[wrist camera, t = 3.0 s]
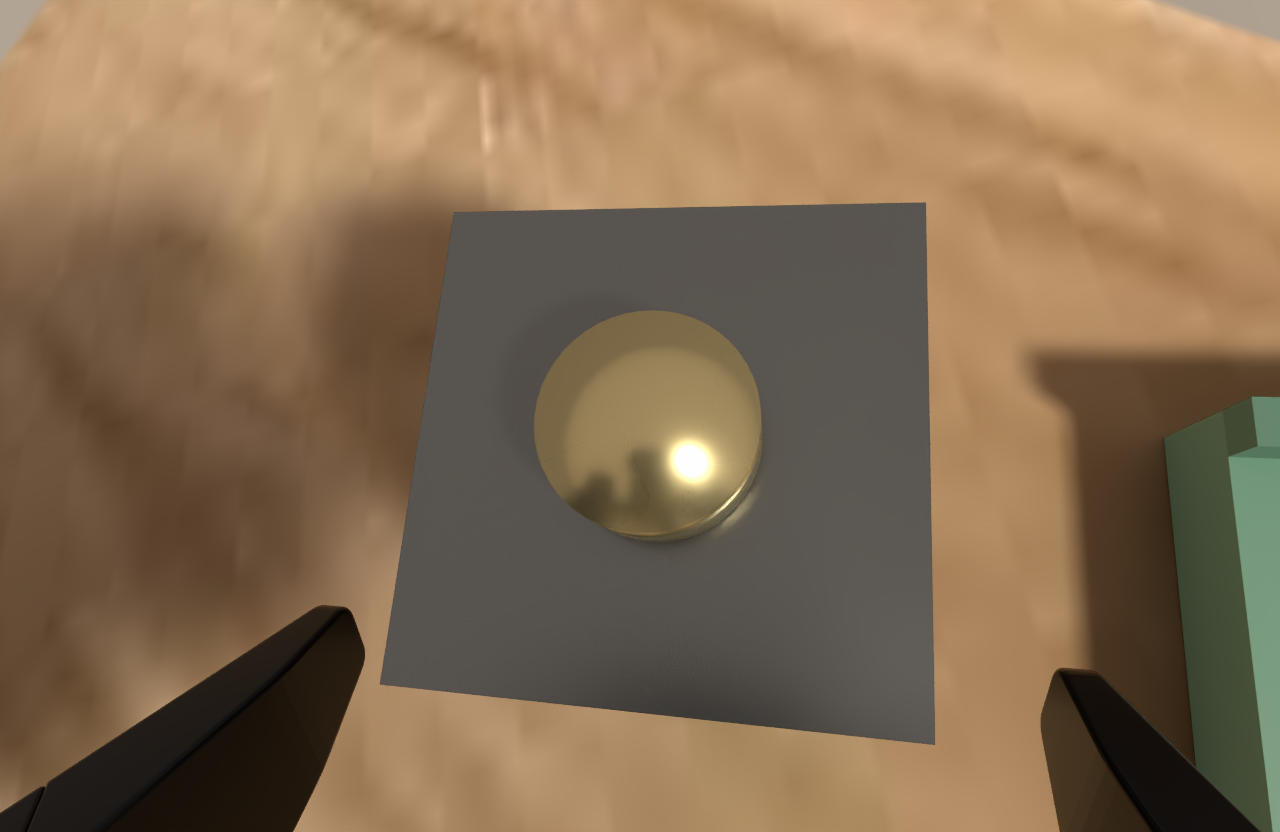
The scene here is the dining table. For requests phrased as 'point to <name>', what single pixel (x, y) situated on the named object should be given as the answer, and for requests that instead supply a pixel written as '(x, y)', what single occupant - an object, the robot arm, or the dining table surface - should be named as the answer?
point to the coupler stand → (1232, 597)
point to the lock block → (678, 468)
